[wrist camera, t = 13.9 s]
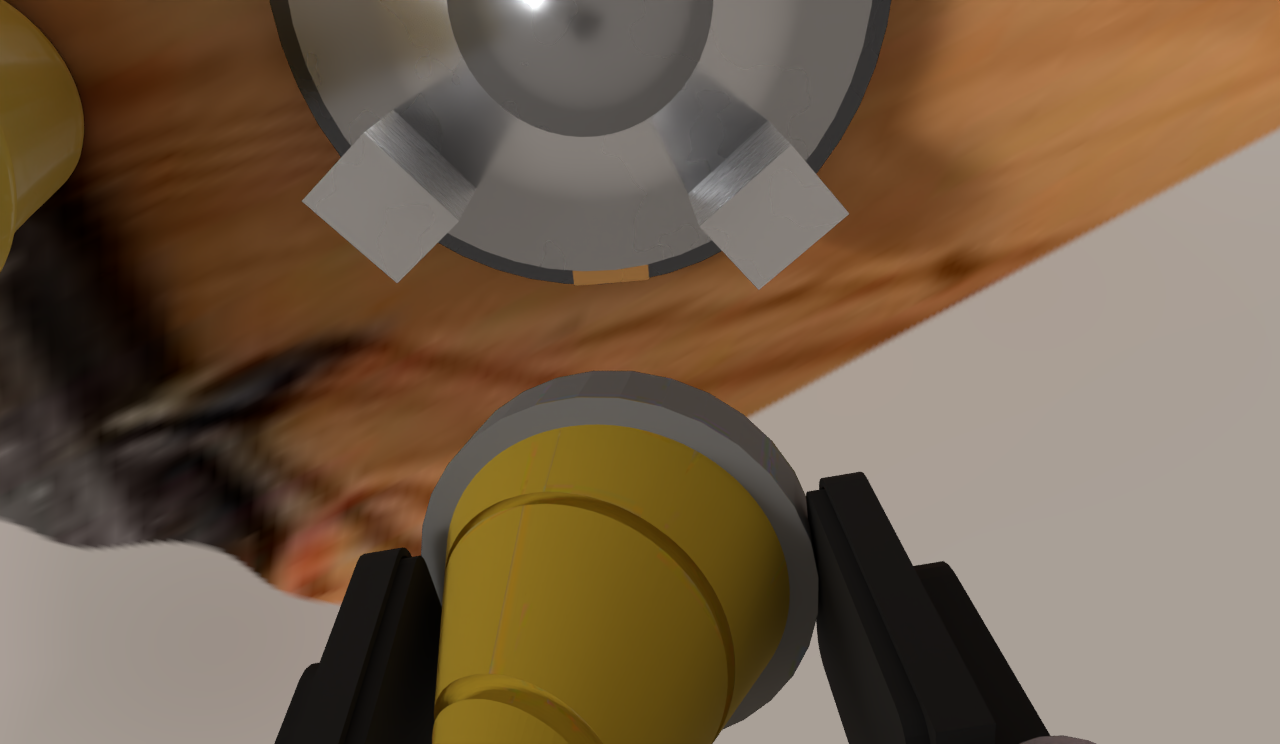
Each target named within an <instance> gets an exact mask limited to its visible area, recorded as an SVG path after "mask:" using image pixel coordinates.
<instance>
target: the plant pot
mask: <svg viewBox="0 0 1280 744" xmlns="http://www.w3.org/2000/svg"><path fill="white" fill-rule="evenodd" d="M83 138H84V116H83V109H82V104H81V100H80V97H79V93H78V90H77V87H76V85H75V82H74V80H73V78H72V76H71V74H70V72H69V70H68V68H67V66H66V64H65V62H64V61H63V59H62V58H61V56H60V55H59V53H58V52H57V51H56V49H55V48H54V46H53V45H52V44H51V42H50V41H49V40H48V39H47V38H46V37H45V35H44V34H43V33H42V32H41V31H40V30H39V29H38V28H37V27H36V26H35V25H34V24H33V23H32V22H31V21H30V20H29V19H28V18H27V17H25V16H24V15H23V14H22V13H21V12H19V11H18V10H17V9H15V8H14V7H13V6H11V5H10V4H8V3H7V2H6V1H4V0H0V272H1V270H2V268H3V266H4V264H5V262H6V259H7V257H8V254H9V252H10V248H11V245H12V241H13V237H14V233H15V231H16V230H17V229H18V228H19V227H20V226H21V225H22V224H23V223H24V222H25V221H26V220H27V219H28V218H29V217H30V216H31V215H32V214H33V213H34V212H35V211H36V210H37V209H38V208H40V207H41V206H42V205H43V204H44V203H45V202H46V201H47V200H48V199H49V198H50V197H51V196H52V195H53V194H54V193H55V192H56V191H57V190H58V189H59V188H60V187H61V186H62V185H63V184H64V183H65V182H66V181H67V180H68V178H69V177H70V175H71V174H72V172H73V171H74V169H75V167H76V165H77V163H78V161H79V158H80V155H81V150H82V146H83Z"/></svg>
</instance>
